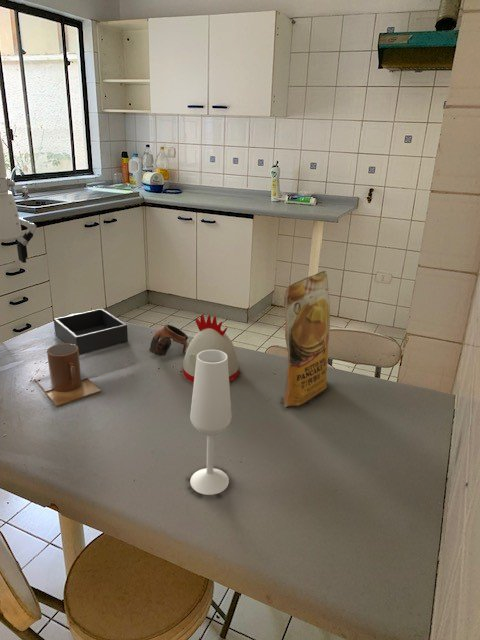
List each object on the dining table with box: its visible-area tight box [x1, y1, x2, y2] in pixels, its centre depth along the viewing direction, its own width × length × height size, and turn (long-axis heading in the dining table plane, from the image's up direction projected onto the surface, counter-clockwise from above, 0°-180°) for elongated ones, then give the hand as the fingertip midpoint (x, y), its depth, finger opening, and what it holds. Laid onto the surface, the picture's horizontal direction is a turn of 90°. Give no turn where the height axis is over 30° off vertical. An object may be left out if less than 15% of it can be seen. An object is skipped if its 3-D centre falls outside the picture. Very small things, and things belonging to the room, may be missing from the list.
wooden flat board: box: [33, 378, 102, 408], centre depth 107 cm, size 14×10×1 cm
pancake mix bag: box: [282, 270, 331, 408], centre depth 103 cm, size 7×19×28 cm, turn 137°
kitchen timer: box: [182, 314, 240, 383], centre depth 113 cm, size 14×14×15 cm
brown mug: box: [46, 342, 83, 392], centre depth 104 cm, size 9×7×9 cm
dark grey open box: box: [53, 308, 129, 356], centre depth 129 cm, size 15×14×6 cm
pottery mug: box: [149, 324, 189, 357], centre depth 124 cm, size 12×10×8 cm
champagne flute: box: [189, 350, 233, 496], centre depth 75 cm, size 7×7×24 cm
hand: (0, 264), depth 105 cm, fingers open, 9 cm apart
